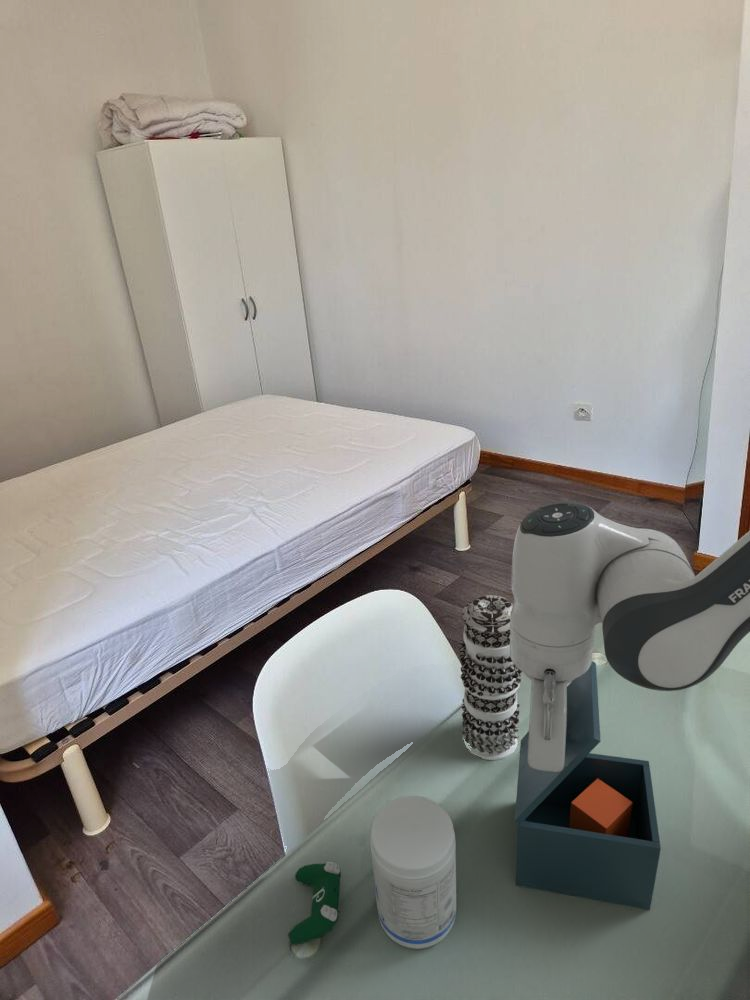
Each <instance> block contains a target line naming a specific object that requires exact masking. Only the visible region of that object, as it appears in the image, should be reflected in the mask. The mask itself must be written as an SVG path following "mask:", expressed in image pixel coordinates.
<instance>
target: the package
mask: <svg viewBox="0 0 750 1000" xmlns="http://www.w3.org/2000/svg"><path fill="white" fill-rule="evenodd" d="M632 804H633V802H631V801H630V800H629V799H627V798H626V797H624V796H623V795H621V794H620V793H618V792H617V791H616V790H614V789H613V788H611V787H610V786H608V785H607V784H605V783H604V782H602V781H601V780H600V779H598V778H597V779H596V780H595V781H594V782H593V783H592V784H591V785H590V786H589V787H588V788H586V789H585V790H584V791H583V792H582V793H581V794H580V795H579V796H578V797H577V798H576V799H574V800H573V801H572V802H571V811H570V822H569V828H571V829H578V830H584V831H590V832H596V833H603V834H609V835H615V836H621V837H628V832H629V825H630V818H631V811H632Z"/></svg>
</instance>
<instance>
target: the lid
mask: <svg viewBox="0 0 750 1000" xmlns="http://www.w3.org/2000/svg"><path fill="white" fill-rule="evenodd" d="M598 690H599V689H598V675H597V663H596V661H593V660H592V663H591V666H590V668H589V669H588V670H587V671H586V672H585V673H584V674H583V675H581V676H579V677H577V678H575V679H574V680H573V681H572V682H570V683H568V684H567V727H566V745H565V761H564V767H563V770H562V771H560V772H548V771H541V770H536V769H533V768H531V767H530V766H529V764H528V739H529V730H528V731H527V733H526V734H525V735H524V736H523V737H522V738H521V739H520V744H519V745H520V747H519V760H518V770H517V771H518V772H517V786H516V800H515V813H514V822H515V823H517V824H518V823H519V824H521V823H522V822H523V821H524V820H525V819H526V818H527V817H528V816H529V815H530V814H531V813H532V812H533V811H534V810H535V809H536V808H537V807H538V805H539V804H540V803H541V802H542V801H543V800H544V799H545V798H546V797H547V796H548V795H549V794H550V793H551V792H552V791H553V790H554V789H555V788H556V787H557V786H558V785H559V784H560V783H561V782H562V781H563V780H564V779H565V778H566V777H567V776H568V775H569V773H570V772H571V771H572V770H573V769H574V768H575V767H576V766H577V765H578V764H579V763H580V762H581V761H582V760H583V759H584V758H585V757H586V756H587V755H588V754H589V753H592V751H593V750H594V749H595V748H596V747H597V746H598V745H599V743H601V725H600V724H601V723H600V710H599V707H600V706H599V691H598Z"/></svg>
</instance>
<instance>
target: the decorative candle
mask: <svg viewBox="0 0 750 1000" xmlns="http://www.w3.org/2000/svg"><path fill="white" fill-rule="evenodd" d="M513 605H514V603H512V602H511V601H510V600H508V599H507V598H505V597H503V596H500V595H496V594H495V595H494V594H487V595H481V596H479V597H476V598H475V599H474V600H473V601H470V602H468V603H467V604H466V606H464V608H462V613H461V617H462V619H463V621H464V627H463V635H462V637H461V639H460V641H459V646H460V647H459V654H460V655H459V657H458V659H459V661H460V665H461V667H460V672H461V675H460V679H461V682H462V684H463V687H464V694H463V698H462V703H463V704H462V705H461V709H462V711H463V712H462V713H461V718H462V721H461V727H462V729H461V734H462V736H463V735H464V739H465V741H466V742H467V743H469V744H470V745H468V746H471V747H472V748H470V747H469V748H470V749H471V752H472V753H473V754H476V755H477V756H479V757H481V758H482V759H481V758H480V759H481V760H487V761H498V760H503V759H505V758H508V757H510V756H511V755H513V754H514V752H515V751H516V749H517V747H518V740H519V735H518V734H517V732H519V731H520V728H519V727H518V726H516V725H520V719H519V715H520V709H519V708H520V703H519V702H518V693H517V691H518V690H519V688H520V684H521V682H522V679H521V674H522V673H523V672H522V671H521V670H519V669H518V668H517V667H516V666H515V664H514V663H513V661H512V660H511V657H510V616H511V611H512V608H513ZM471 752H470V753H471ZM472 753H471V754H472ZM473 754H472V755H473ZM477 756H476V757H477ZM479 757H478V758H479Z"/></svg>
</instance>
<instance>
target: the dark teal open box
mask: <svg viewBox="0 0 750 1000" xmlns="http://www.w3.org/2000/svg"><path fill="white" fill-rule="evenodd" d="M597 778H598V779H600V780H601V781H602V782H604V783H605V784H607V785H608V786H610V787H611V788H613V789H614V790H616V791H617V792H618V793H620V794H621V795H623V796H624V797H626V798H627V799H629V800H630V801H631V802H633V804H632V811H631V818H630V825H629V832H628V837H621V836H615V835H609V834H603V833H596V832H590V831H584V830H578V829H571V828H569V822H570V811H571V802H572V801H573V800H574V799H576V798H577V797H578V796H579V795H580V794H581V793H582V792H583V791H584V790H585V789H586V788H588V787H589V786H590V785H591V784H592V783H593V782H594V781H595V780H596V779H597ZM516 825H517V829H516V852H515V853H516V854H515V855H516V856H515V877H514V878H515V882H514V885H515V886H517V887H523V888H528V889H534V890H539V891H543V892H550V893H555V894H560V895H566V896H572V897H577V898H583V899H587V900H593V901H600V902H605V903H608V904H609V903H610V904H616V905H620V906H625V907H632V908H637V909H643V910H648V911H650V910H651V907H652V902H653V901H652V900H653V895H654V889H655V883H656V879H657V873H658V866H659V861H660V857H661V850H662V847H661V839H660V832H659V825H658V818H657V810H656V803H655V796H654V788H653V781H652V774H651V766H650V761H649V760H643V759H636V758H629V757H623V756H622V757H621V756H616V755H615V756H614V755H606V754H601V753H600V754H599V753H592V752H590V753H589V754H588V755H587V756H586V757H585V758H584V759H583V760H582V761H581V762H580V763H579V764H578V765H577V766H576V767H575V768H574V769H573V770H572V771H571V772H570V773H569V775H568V776H567V777H566V778H565V779H564V780H563V781H562V782H561V783H560V784H559V785H558V786H557V787H556V788H555V789H554V790H553V791H552V792H551V793H550V794H549V795H548V796H547V797H546V798H545V799H544V800H543V801H542V802H541V803H540V804H539V805H538V807H537V808H536V809H535V810H534V811H533V812H532V813H531V814H530V815H529V816H528V817H527V818H526V819H525V820H524V821H523V822H522V823H521V824H519V823H518V822H517V824H516Z"/></svg>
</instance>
